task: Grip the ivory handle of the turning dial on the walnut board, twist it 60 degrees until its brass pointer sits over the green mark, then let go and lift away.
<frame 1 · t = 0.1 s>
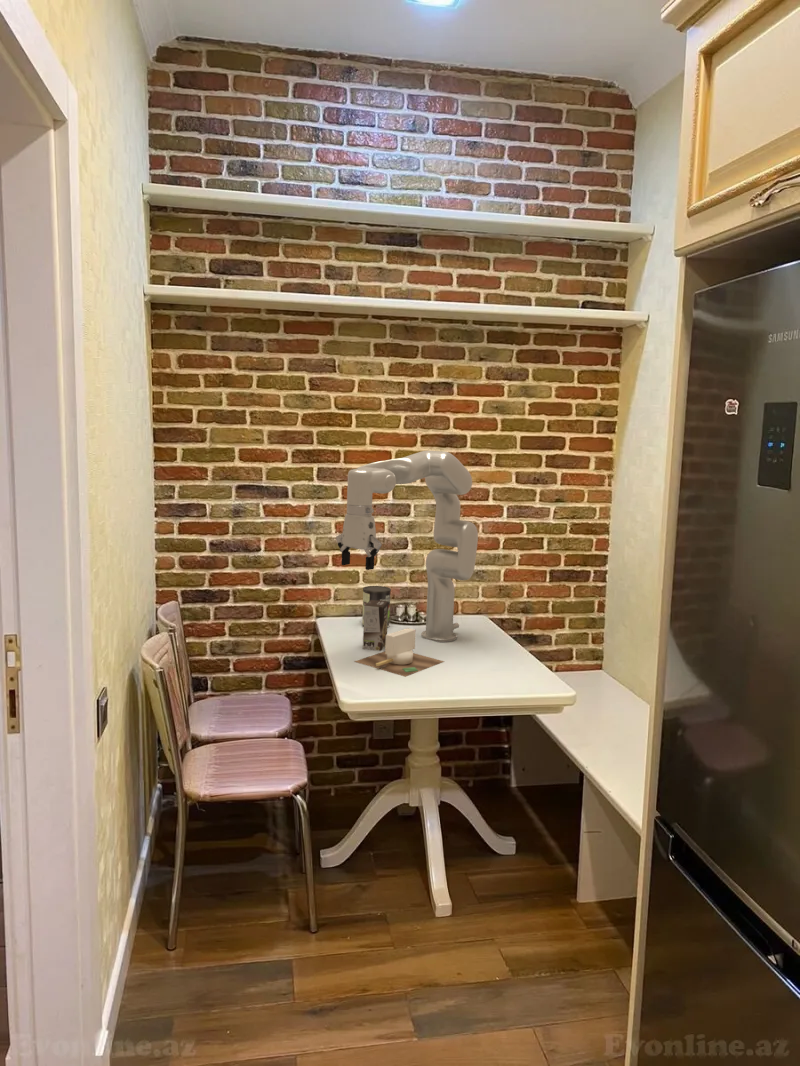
hand: (357, 567, 228), 31 cm above the table, tool pointing down, fingers open, 9 cm apart
dial board: (399, 666, 234), on the table
coffee can: (375, 626, 280), on the table
dial knob: (394, 648, 231), point 6 cm above the table, hinge at 0.0°
coffee box: (374, 651, 249), on the table
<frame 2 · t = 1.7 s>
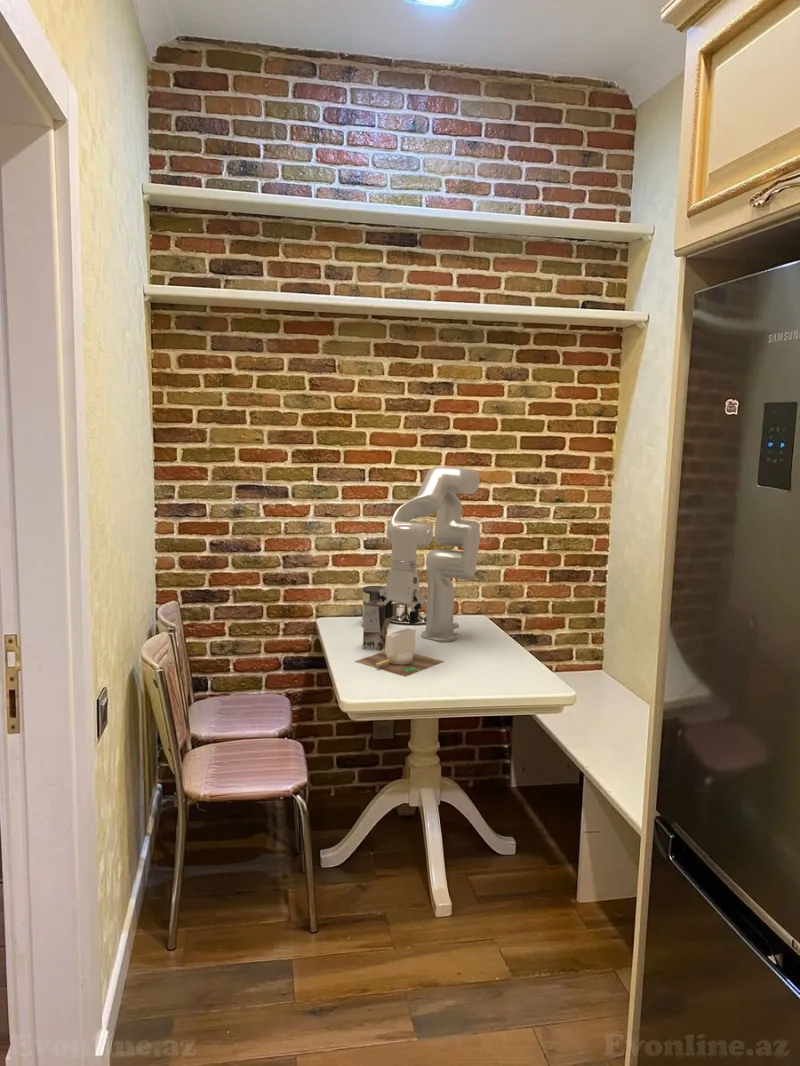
hand: (400, 620, 232), 15 cm above the table, tool pointing down, fingers open, 9 cm apart
nothing on the table moved.
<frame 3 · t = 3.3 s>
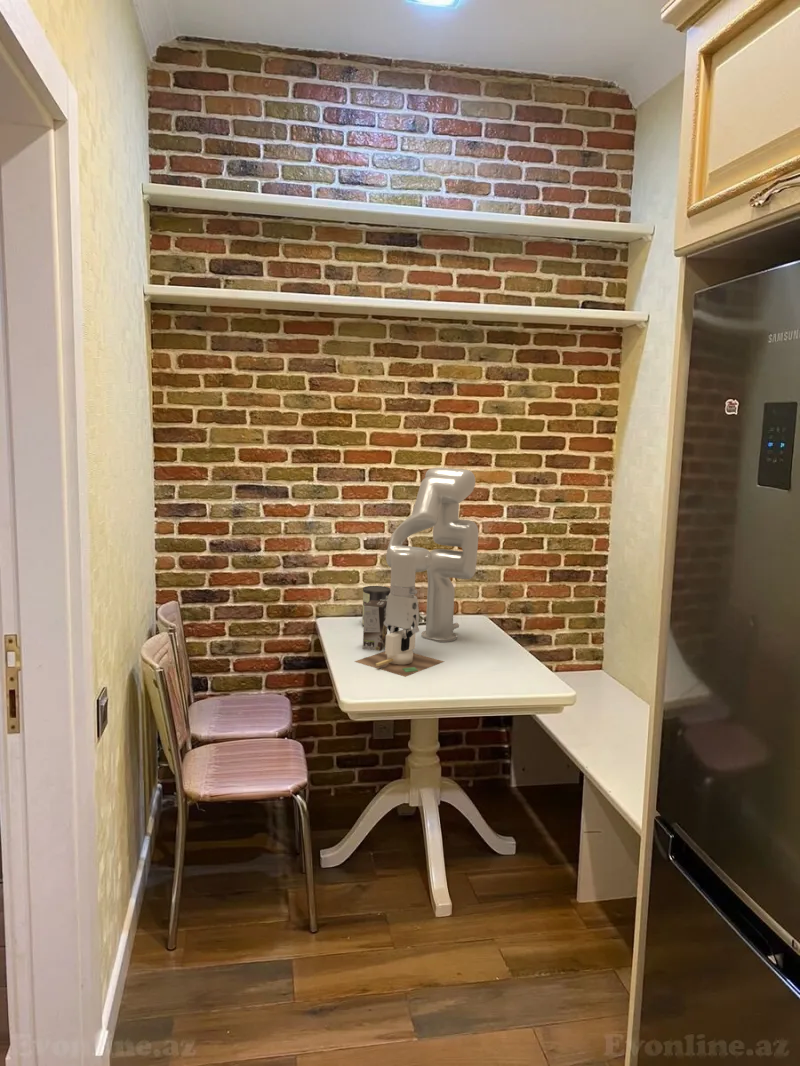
hand: (400, 648, 233), 6 cm above the table, tool pointing down, fingers closed on dial knob, 3 cm apart
dial knob: (394, 648, 231), point 6 cm above the table, hinge at 0.0°, touching gripper
everything else where it was.
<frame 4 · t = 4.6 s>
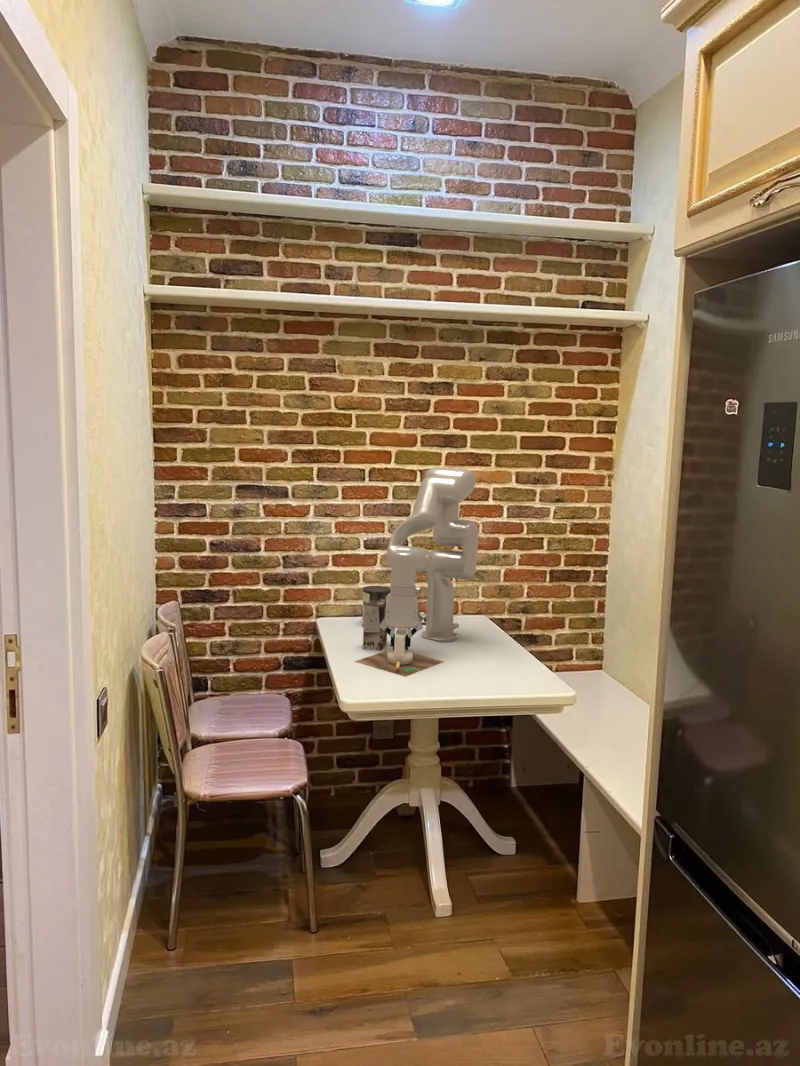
hand: (400, 648, 233), 6 cm above the table, tool pointing down, fingers closed on dial knob, 3 cm apart
dial knob: (399, 649, 231), point 6 cm above the table, hinge at 34.3°, touching gripper
everything else where it was.
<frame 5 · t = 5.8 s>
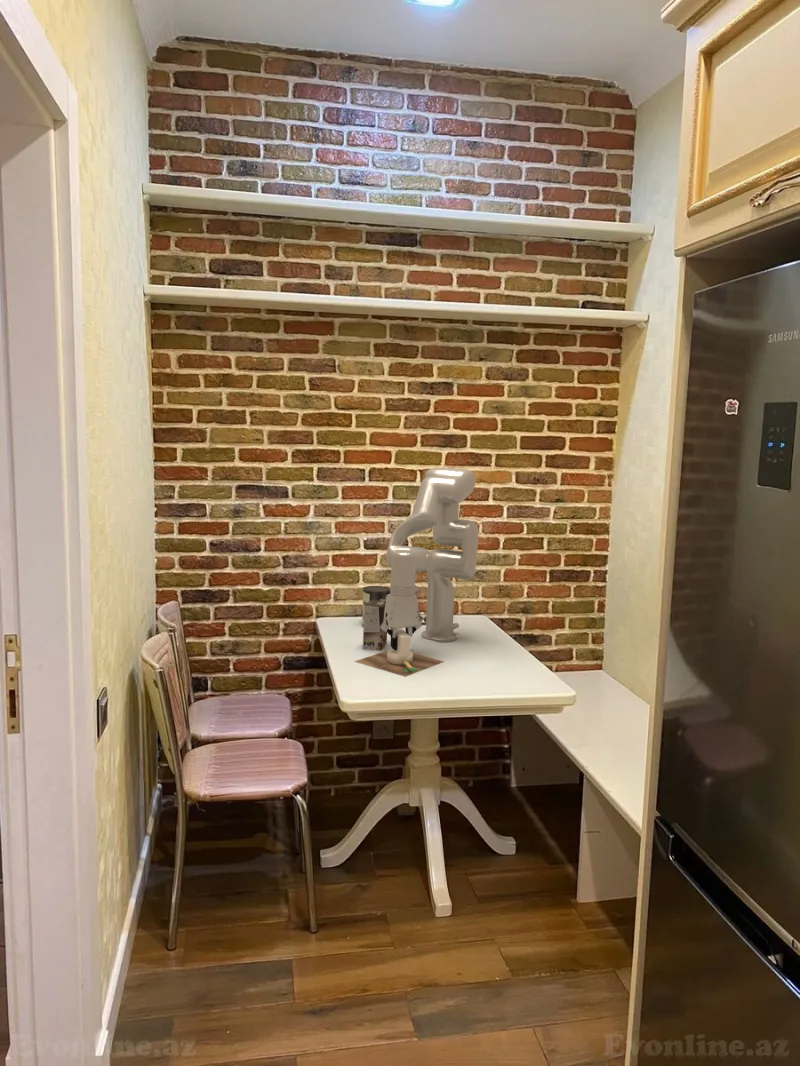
hand: (400, 648, 233), 6 cm above the table, tool pointing down, fingers closed on dial knob, 3 cm apart
dial knob: (402, 649, 231), point 6 cm above the table, hinge at 55.1°, touching gripper
everything else where it was.
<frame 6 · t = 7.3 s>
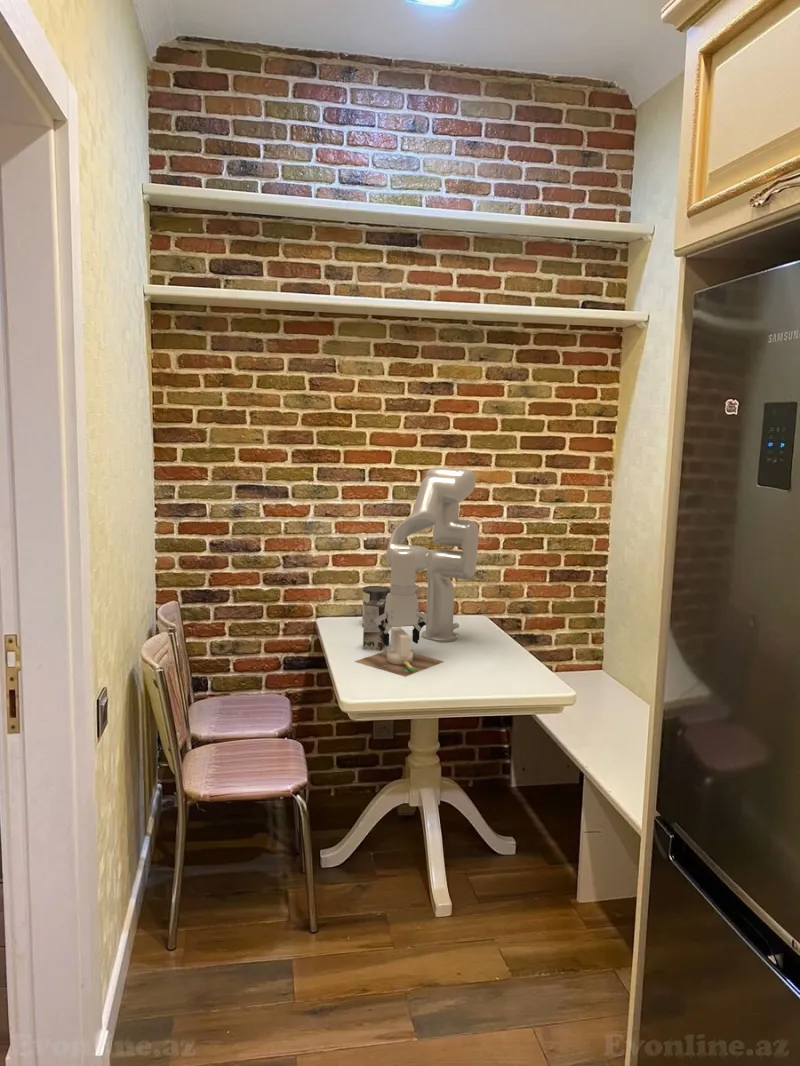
hand: (400, 643, 233), 7 cm above the table, tool pointing down, fingers open, 9 cm apart
dial knob: (403, 649, 231), point 6 cm above the table, hinge at 55.7°
everything else where it was.
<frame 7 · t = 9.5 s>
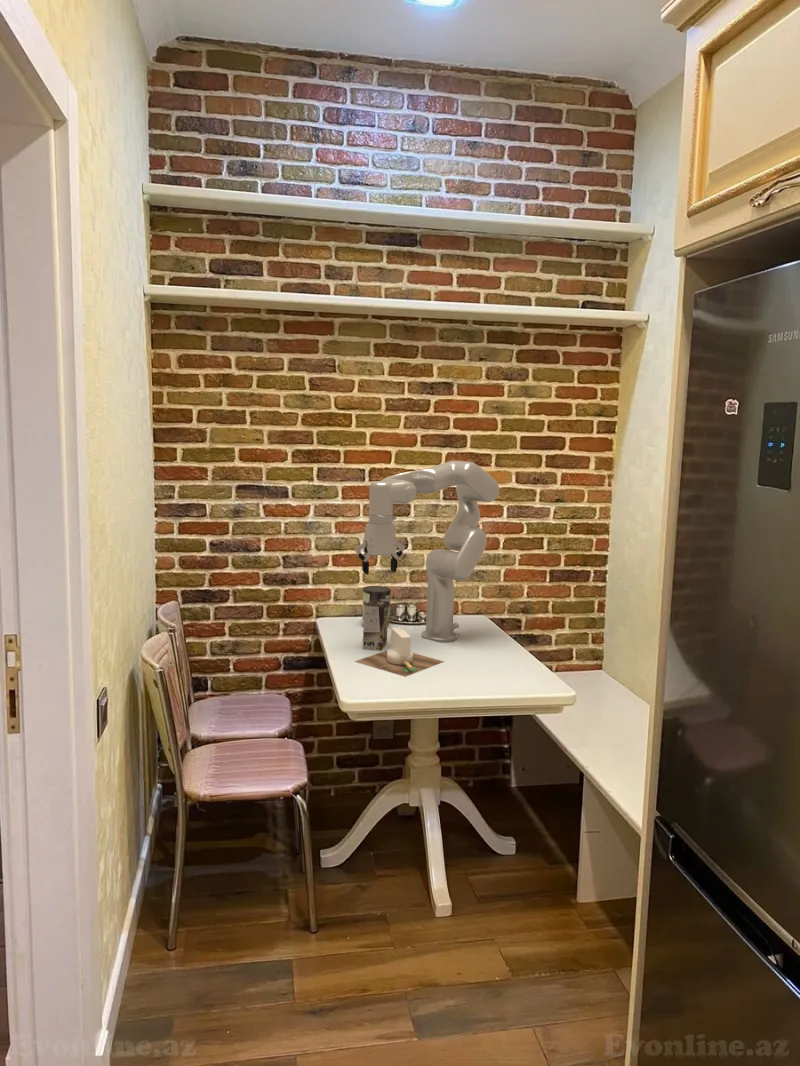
hand: (379, 572, 244), 27 cm above the table, tool pointing down, fingers open, 9 cm apart
nothing on the table moved.
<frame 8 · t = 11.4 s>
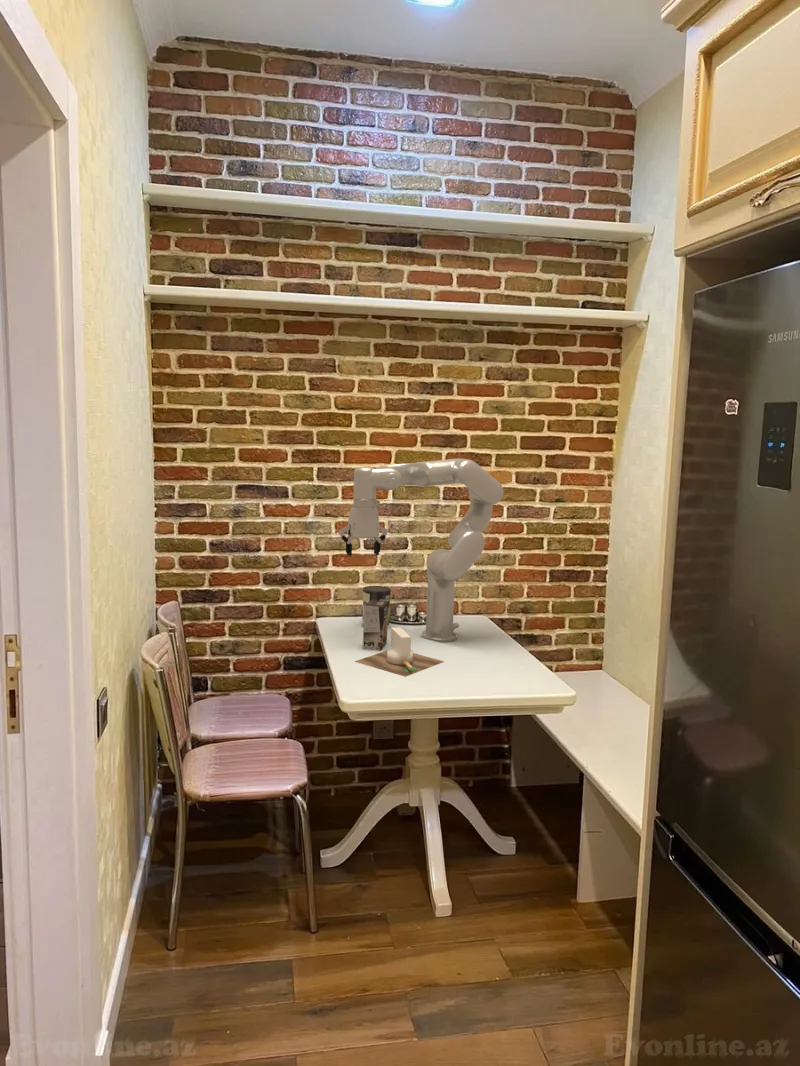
hand: (362, 554, 254), 30 cm above the table, tool pointing down, fingers open, 9 cm apart
nothing on the table moved.
at the end: dial knob at +56° (first picture: +0°); coffee box moved 0.2 cm from its start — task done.
